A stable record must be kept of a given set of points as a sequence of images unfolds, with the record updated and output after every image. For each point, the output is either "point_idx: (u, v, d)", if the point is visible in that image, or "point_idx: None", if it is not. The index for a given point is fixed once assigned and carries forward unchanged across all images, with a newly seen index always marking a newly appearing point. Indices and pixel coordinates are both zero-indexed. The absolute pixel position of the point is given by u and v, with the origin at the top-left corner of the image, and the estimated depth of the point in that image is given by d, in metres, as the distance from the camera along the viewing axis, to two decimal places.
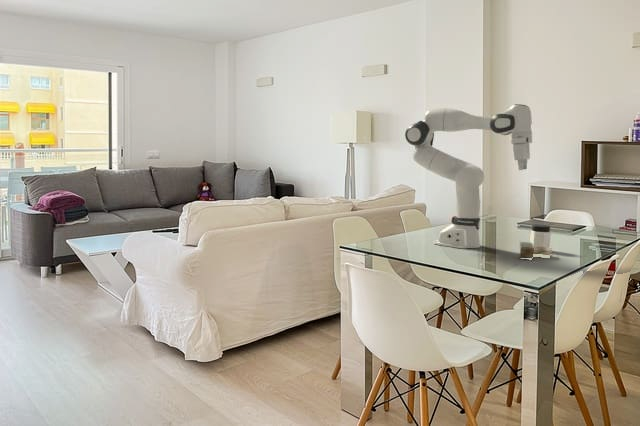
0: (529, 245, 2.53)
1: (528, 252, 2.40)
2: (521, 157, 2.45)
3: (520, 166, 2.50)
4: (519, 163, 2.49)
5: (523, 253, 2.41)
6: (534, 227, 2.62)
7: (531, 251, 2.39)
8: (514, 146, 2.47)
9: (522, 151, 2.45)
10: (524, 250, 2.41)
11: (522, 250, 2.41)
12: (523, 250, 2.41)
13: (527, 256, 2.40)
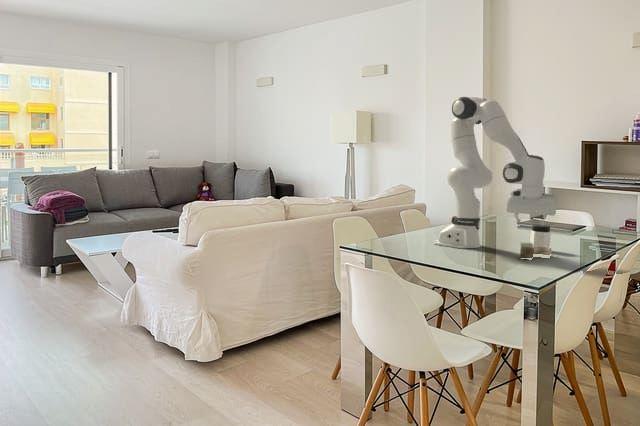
0: (529, 245, 2.53)
1: (528, 252, 2.40)
2: (506, 209, 2.43)
3: None
4: None
5: (523, 253, 2.41)
6: (534, 227, 2.62)
7: (531, 251, 2.39)
8: None
9: (507, 204, 2.43)
10: (524, 250, 2.41)
11: (522, 250, 2.41)
12: (523, 250, 2.41)
13: (527, 256, 2.40)
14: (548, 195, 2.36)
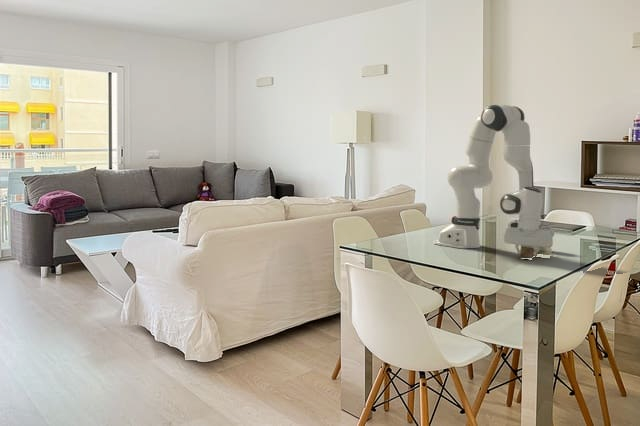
0: None
1: (528, 252, 2.40)
2: None
3: (517, 250, 2.44)
4: None
5: (523, 253, 2.41)
6: None
7: (531, 251, 2.39)
8: None
9: None
10: (524, 250, 2.41)
11: (522, 250, 2.41)
12: (523, 250, 2.41)
13: (527, 256, 2.40)
14: (545, 227, 2.38)
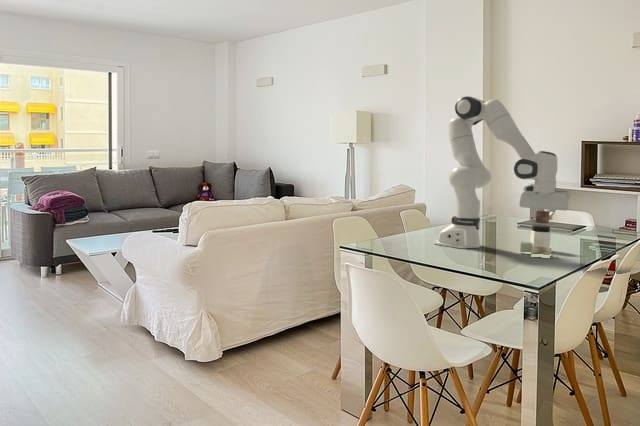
0: (529, 245, 2.53)
1: (543, 215, 2.44)
2: (519, 204, 2.49)
3: (533, 214, 2.48)
4: None
5: (539, 216, 2.45)
6: (534, 227, 2.62)
7: (547, 214, 2.43)
8: None
9: (520, 199, 2.48)
10: (540, 213, 2.44)
11: (538, 213, 2.45)
12: (539, 213, 2.44)
13: (543, 219, 2.44)
14: (561, 190, 2.41)
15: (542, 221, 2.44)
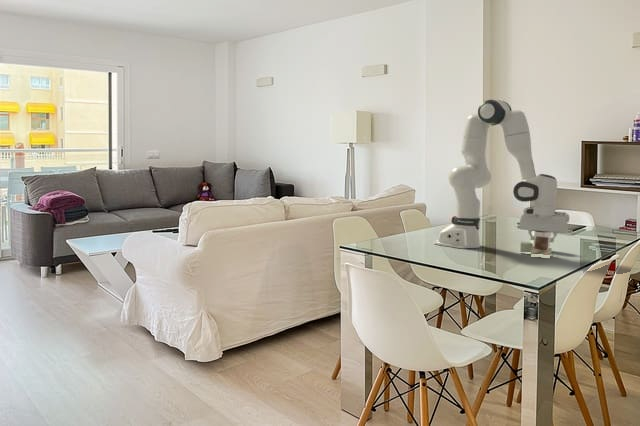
0: (529, 245, 2.53)
1: (542, 241, 2.46)
2: (519, 226, 2.51)
3: None
4: None
5: (538, 242, 2.47)
6: None
7: (546, 240, 2.46)
8: None
9: (520, 221, 2.51)
10: (539, 239, 2.47)
11: (537, 239, 2.47)
12: (538, 239, 2.47)
13: (542, 245, 2.47)
14: (560, 213, 2.44)
15: (541, 247, 2.47)
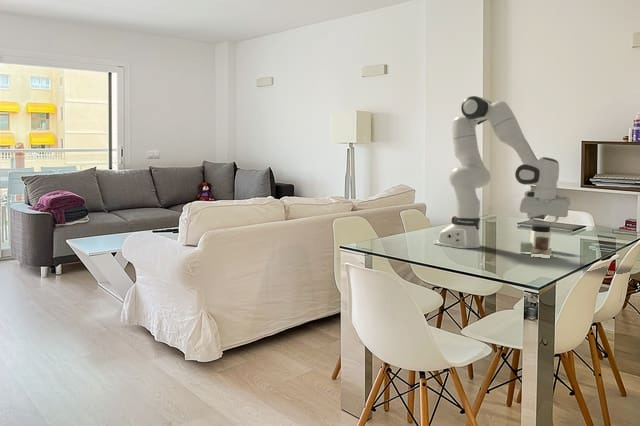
0: (529, 245, 2.53)
1: (543, 241, 2.46)
2: None
3: (529, 219, 2.50)
4: None
5: (538, 242, 2.47)
6: (534, 227, 2.62)
7: (546, 240, 2.46)
8: None
9: None
10: (539, 240, 2.47)
11: (537, 240, 2.47)
12: (538, 240, 2.47)
13: (542, 245, 2.46)
14: (561, 197, 2.43)
15: (542, 247, 2.47)
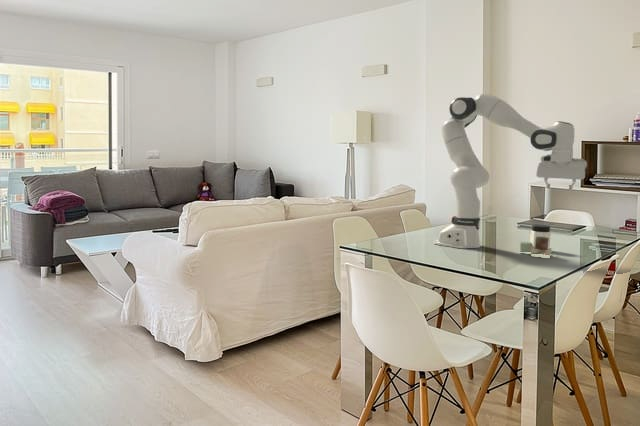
0: (529, 245, 2.53)
1: (543, 241, 2.46)
2: (536, 174, 2.53)
3: None
4: (545, 180, 2.53)
5: (538, 242, 2.47)
6: (534, 227, 2.62)
7: (546, 240, 2.45)
8: None
9: (537, 169, 2.52)
10: (539, 239, 2.47)
11: (537, 239, 2.47)
12: (538, 239, 2.47)
13: (542, 245, 2.46)
14: (577, 160, 2.45)
15: (541, 247, 2.47)
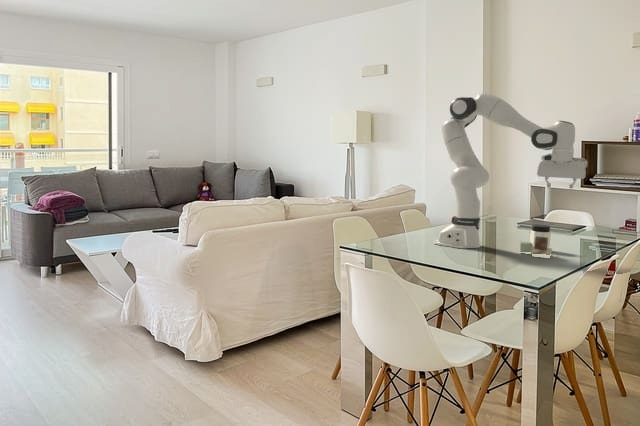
0: (529, 245, 2.53)
1: (542, 241, 2.46)
2: (537, 174, 2.53)
3: (547, 183, 2.53)
4: None
5: (538, 242, 2.47)
6: (534, 227, 2.62)
7: (546, 240, 2.46)
8: None
9: (538, 168, 2.52)
10: (539, 239, 2.47)
11: (537, 239, 2.47)
12: (538, 239, 2.47)
13: (542, 245, 2.47)
14: (578, 159, 2.46)
15: (541, 247, 2.47)
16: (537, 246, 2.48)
